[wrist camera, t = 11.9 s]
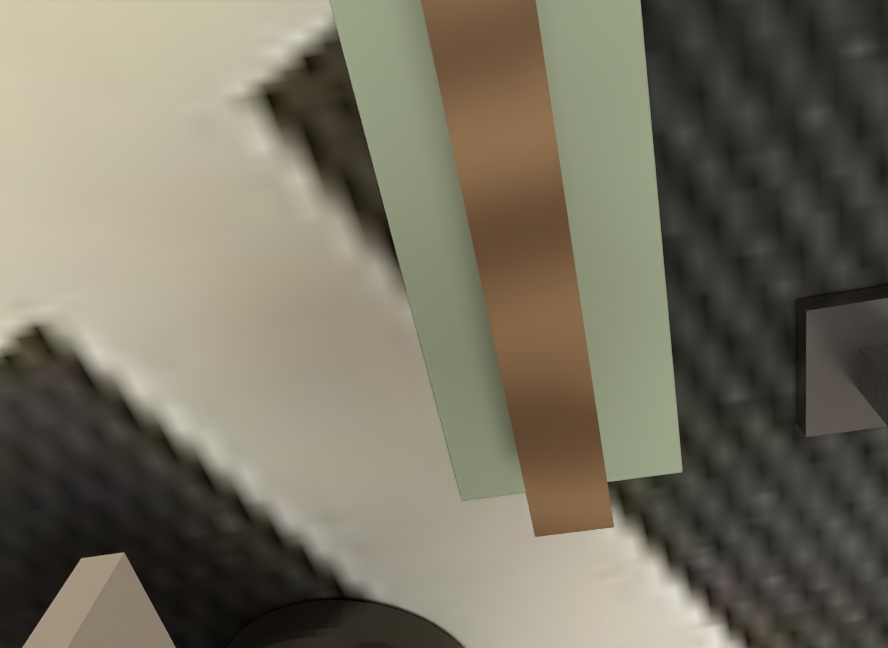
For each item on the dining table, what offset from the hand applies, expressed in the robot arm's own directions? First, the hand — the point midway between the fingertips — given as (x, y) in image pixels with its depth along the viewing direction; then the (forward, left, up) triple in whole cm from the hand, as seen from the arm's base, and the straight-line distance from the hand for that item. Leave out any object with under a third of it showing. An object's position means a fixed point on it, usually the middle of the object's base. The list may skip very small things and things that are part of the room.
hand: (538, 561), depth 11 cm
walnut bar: (0, 0, -18) cm, 18 cm away
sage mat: (0, 0, -18) cm, 18 cm away
